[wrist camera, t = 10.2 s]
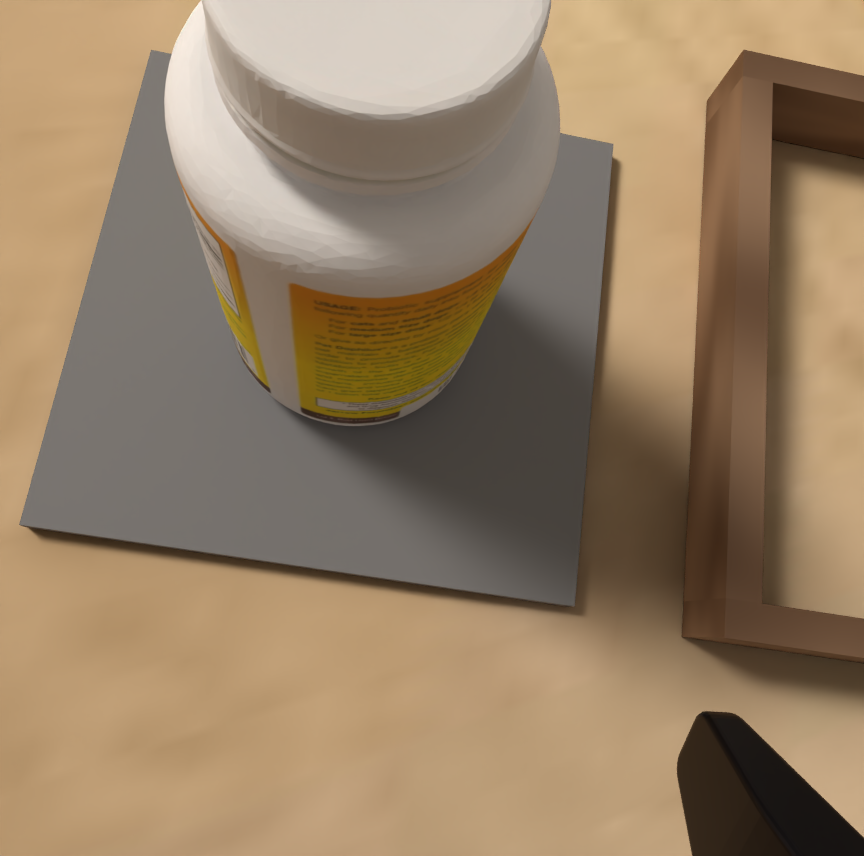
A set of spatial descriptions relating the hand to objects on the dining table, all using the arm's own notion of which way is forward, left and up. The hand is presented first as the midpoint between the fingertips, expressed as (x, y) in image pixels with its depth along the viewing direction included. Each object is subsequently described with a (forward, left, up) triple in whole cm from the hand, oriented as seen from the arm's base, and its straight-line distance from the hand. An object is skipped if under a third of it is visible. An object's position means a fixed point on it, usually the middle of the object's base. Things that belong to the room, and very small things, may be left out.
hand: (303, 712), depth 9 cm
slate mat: (+8, +1, -8) cm, 12 cm away
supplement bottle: (+8, +1, -8) cm, 12 cm away
